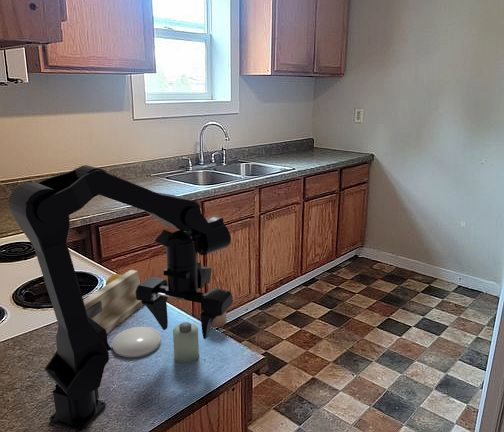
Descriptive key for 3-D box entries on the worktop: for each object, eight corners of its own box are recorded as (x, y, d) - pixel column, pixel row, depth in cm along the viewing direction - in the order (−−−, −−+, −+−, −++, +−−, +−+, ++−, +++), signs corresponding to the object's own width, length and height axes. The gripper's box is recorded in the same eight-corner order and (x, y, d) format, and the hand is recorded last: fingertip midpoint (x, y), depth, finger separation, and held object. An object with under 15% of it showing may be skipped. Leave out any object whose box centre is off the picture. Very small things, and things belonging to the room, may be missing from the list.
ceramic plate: (143, 361, 87) (143, 357, 86) (102, 351, 90) (102, 347, 90) (169, 335, 96) (169, 331, 95) (131, 327, 99) (131, 323, 99)
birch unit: (88, 347, 91) (84, 313, 89) (69, 342, 93) (65, 309, 91) (148, 301, 111) (146, 272, 109) (131, 297, 113) (128, 269, 110)
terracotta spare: (221, 329, 98) (220, 301, 96) (201, 325, 100) (200, 298, 98) (229, 318, 103) (229, 291, 101) (210, 314, 104) (209, 288, 102)
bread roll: (108, 282, 122) (107, 269, 120) (141, 281, 123) (140, 268, 122) (103, 296, 114) (101, 282, 113) (138, 294, 115) (137, 280, 114)
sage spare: (191, 365, 86) (190, 334, 84) (169, 359, 87) (167, 329, 85) (203, 351, 90) (202, 321, 88) (181, 346, 92) (180, 317, 90)
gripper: (243, 253, 87) (243, 322, 91) (162, 241, 93) (166, 306, 98) (219, 275, 77) (221, 351, 81) (131, 260, 83) (136, 332, 88)
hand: (185, 333), depth 87 cm, fingers open, 9 cm apart
